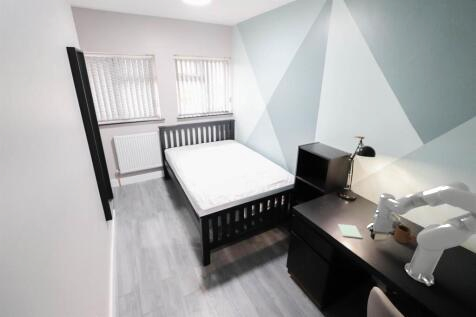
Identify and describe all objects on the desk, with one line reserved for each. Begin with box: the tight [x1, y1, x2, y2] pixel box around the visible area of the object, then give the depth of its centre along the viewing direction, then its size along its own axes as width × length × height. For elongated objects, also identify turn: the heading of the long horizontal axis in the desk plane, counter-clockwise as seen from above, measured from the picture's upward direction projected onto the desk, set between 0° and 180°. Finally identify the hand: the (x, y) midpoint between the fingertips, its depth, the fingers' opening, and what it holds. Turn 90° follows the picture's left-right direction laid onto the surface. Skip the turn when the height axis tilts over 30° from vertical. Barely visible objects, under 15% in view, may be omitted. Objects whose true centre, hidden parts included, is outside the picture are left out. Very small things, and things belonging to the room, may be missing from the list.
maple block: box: [372, 230, 388, 244], centre depth 135 cm, size 6×6×6 cm
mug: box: [393, 224, 417, 245], centre depth 140 cm, size 12×8×9 cm, turn 18°
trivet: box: [337, 223, 363, 239], centre depth 151 cm, size 12×12×1 cm
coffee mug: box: [390, 213, 406, 234], centre depth 152 cm, size 13×10×10 cm
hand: (378, 238), depth 136 cm, fingers closed on maple block, 6 cm apart
